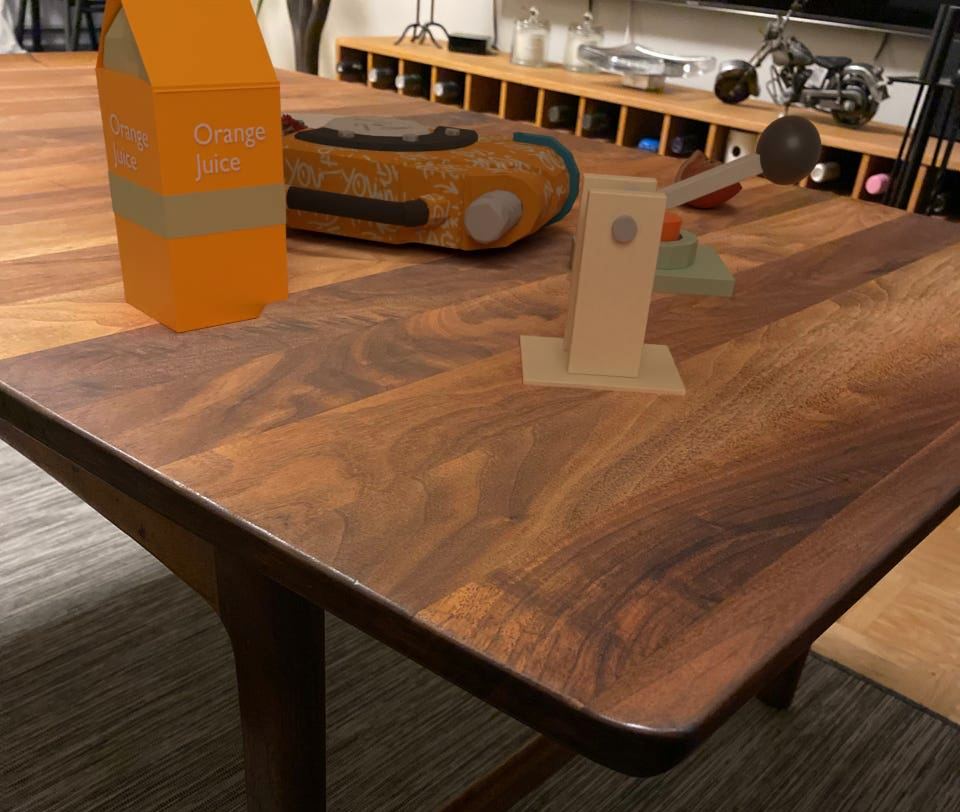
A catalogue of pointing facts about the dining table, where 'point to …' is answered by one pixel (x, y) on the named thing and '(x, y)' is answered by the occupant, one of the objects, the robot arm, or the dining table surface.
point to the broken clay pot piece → (701, 164)
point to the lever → (757, 162)
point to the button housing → (688, 268)
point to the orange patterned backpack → (425, 182)
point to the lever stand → (609, 297)
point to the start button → (671, 227)
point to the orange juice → (193, 159)
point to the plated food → (304, 121)
